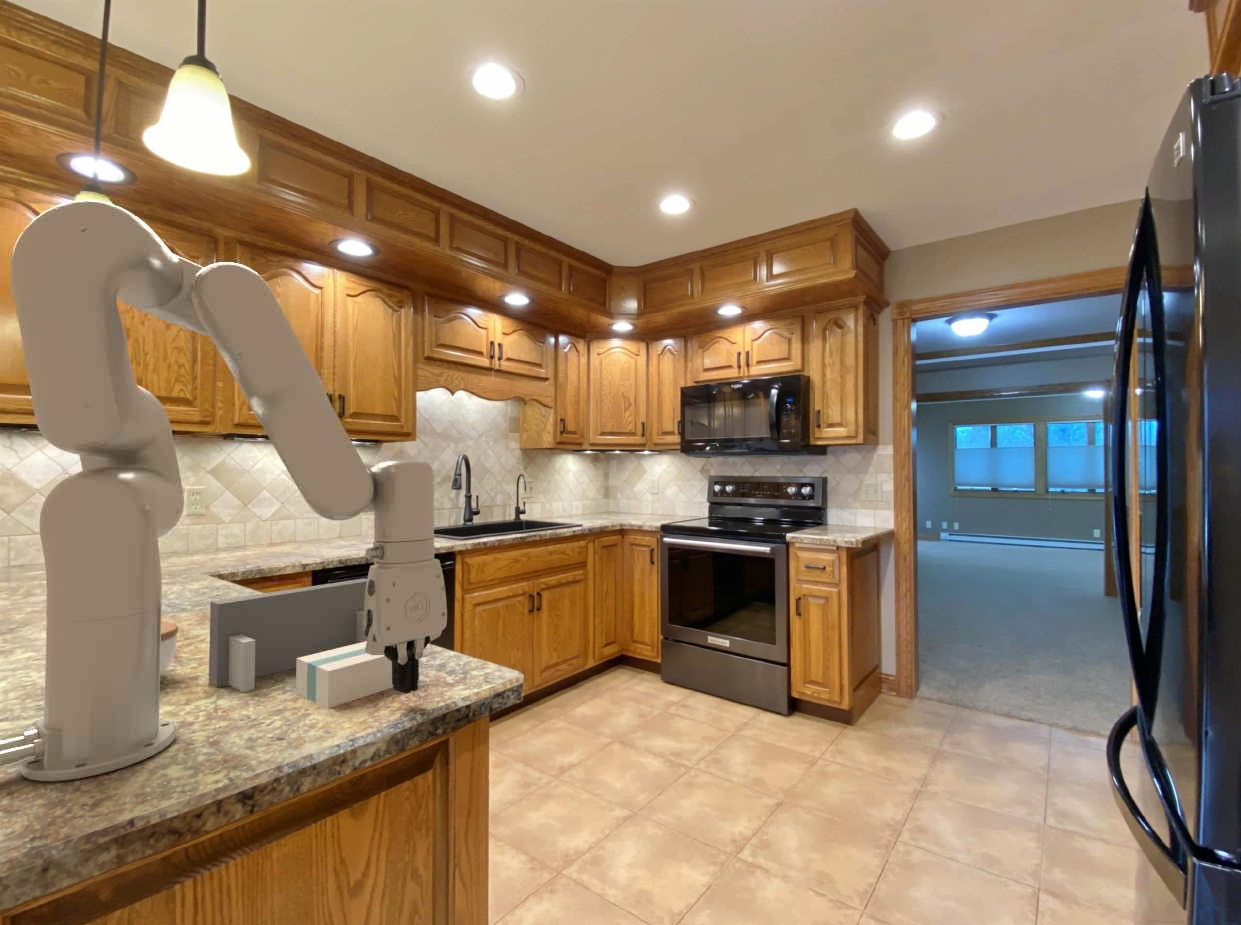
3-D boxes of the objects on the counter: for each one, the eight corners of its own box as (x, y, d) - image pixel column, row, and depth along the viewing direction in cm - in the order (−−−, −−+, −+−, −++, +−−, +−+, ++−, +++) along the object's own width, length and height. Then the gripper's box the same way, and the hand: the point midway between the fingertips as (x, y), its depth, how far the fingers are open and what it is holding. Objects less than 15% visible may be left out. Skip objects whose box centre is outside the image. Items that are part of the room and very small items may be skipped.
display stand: (230, 695, 80) (232, 609, 80) (208, 682, 84) (210, 601, 85) (388, 652, 99) (389, 583, 99) (363, 644, 104) (364, 578, 104)
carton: (327, 709, 76) (328, 671, 76) (295, 693, 81) (296, 658, 81) (408, 683, 85) (408, 649, 86) (375, 670, 91) (375, 638, 91)
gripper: (367, 562, 68) (368, 716, 68) (467, 548, 81) (468, 678, 80) (335, 557, 73) (335, 702, 73) (434, 544, 85) (435, 668, 85)
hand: (405, 689), depth 76 cm, fingers closed
